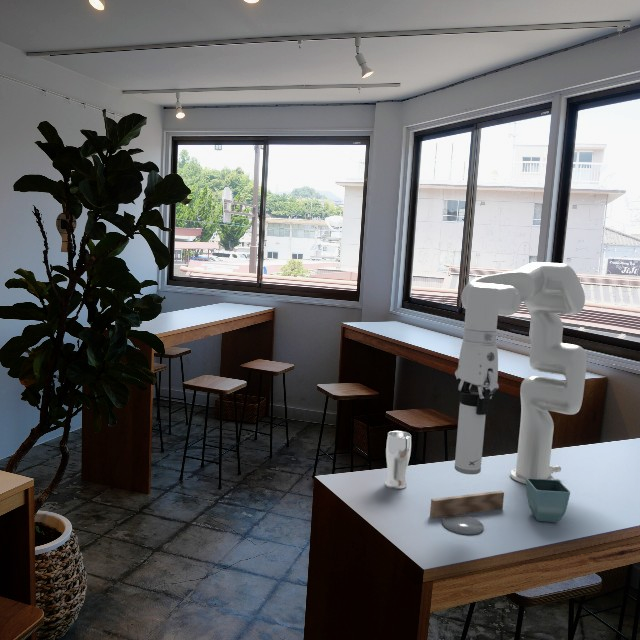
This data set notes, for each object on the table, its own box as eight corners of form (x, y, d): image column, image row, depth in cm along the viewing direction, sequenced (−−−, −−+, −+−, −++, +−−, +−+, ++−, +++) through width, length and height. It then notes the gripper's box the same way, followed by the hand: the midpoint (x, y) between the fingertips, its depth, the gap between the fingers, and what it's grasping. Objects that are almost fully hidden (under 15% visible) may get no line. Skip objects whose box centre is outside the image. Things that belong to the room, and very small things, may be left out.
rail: (499, 506, 168) (501, 490, 167) (502, 508, 167) (504, 492, 166) (429, 516, 159) (431, 499, 159) (432, 518, 158) (433, 500, 158)
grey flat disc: (467, 515, 161) (467, 513, 161) (492, 532, 152) (492, 530, 152) (434, 519, 157) (434, 517, 157) (457, 537, 148) (458, 535, 148)
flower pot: (522, 509, 167) (525, 477, 166) (555, 512, 167) (559, 479, 166) (532, 524, 158) (535, 490, 157) (567, 526, 158) (571, 492, 157)
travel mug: (477, 477, 149) (484, 394, 146) (450, 470, 152) (457, 390, 150) (485, 470, 154) (492, 390, 152) (459, 463, 158) (465, 386, 155)
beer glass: (379, 486, 178) (383, 434, 176) (388, 478, 184) (392, 429, 182) (403, 491, 175) (407, 439, 173) (411, 484, 181) (415, 433, 179)
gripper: (516, 342, 143) (509, 419, 145) (470, 331, 159) (464, 401, 161) (489, 343, 140) (482, 421, 142) (445, 331, 156) (439, 402, 158)
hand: (473, 409), depth 152 cm, fingers closed on travel mug, 6 cm apart
